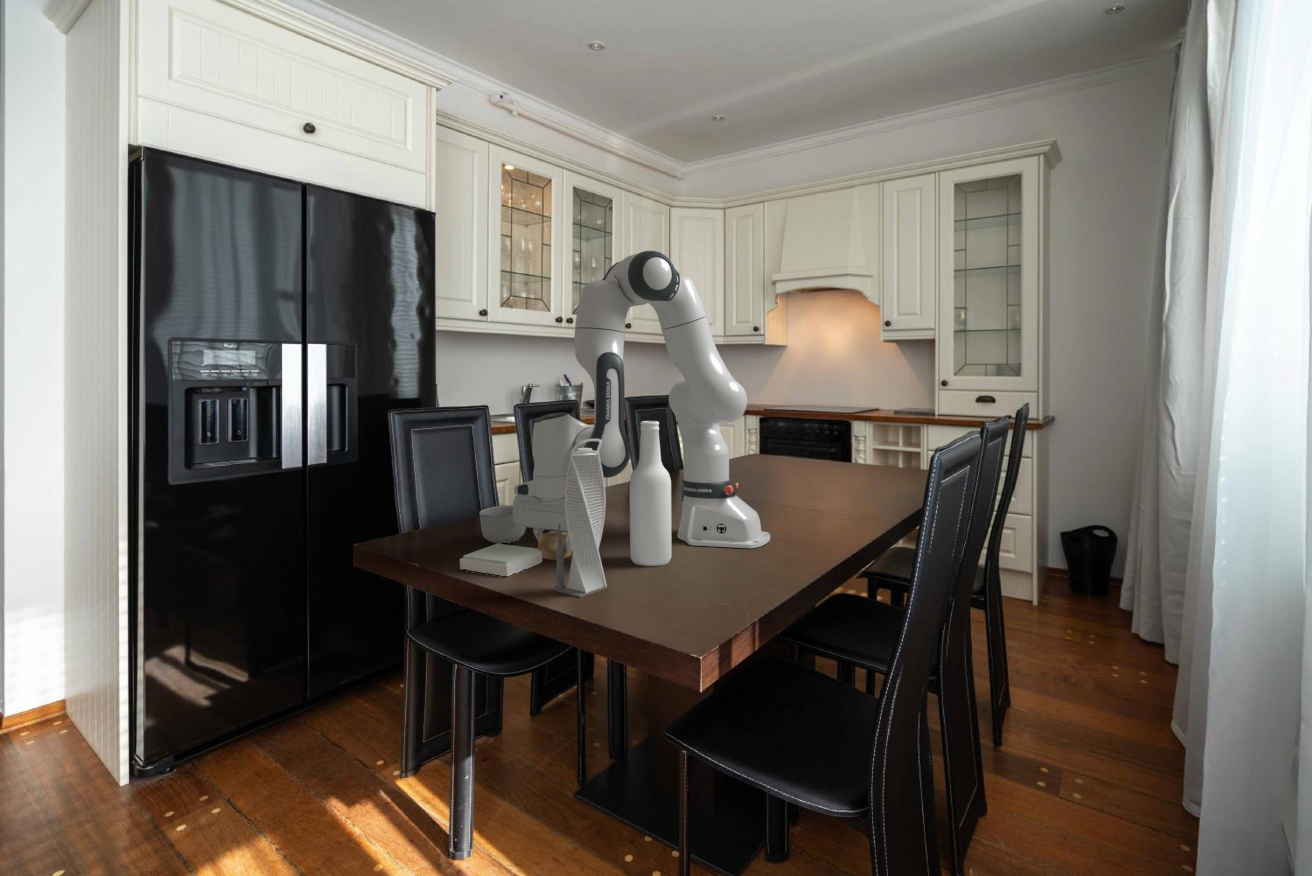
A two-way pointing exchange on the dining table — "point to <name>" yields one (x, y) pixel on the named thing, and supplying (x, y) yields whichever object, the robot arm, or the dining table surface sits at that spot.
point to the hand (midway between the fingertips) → (555, 549)
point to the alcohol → (650, 503)
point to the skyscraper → (583, 523)
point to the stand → (501, 559)
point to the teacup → (500, 525)
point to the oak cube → (551, 545)
